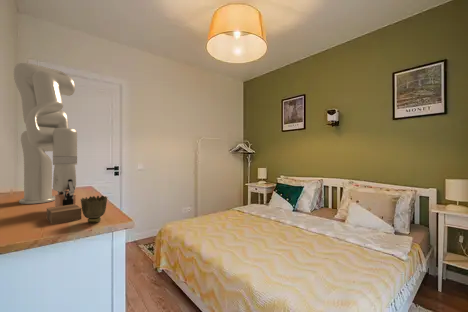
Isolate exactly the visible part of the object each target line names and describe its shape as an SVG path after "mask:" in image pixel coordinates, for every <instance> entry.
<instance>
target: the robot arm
mask: <svg viewBox="0 0 468 312" xmlns="http://www.w3.org/2000/svg"><path fill="white" fill-rule="evenodd" d="M13 80H14V84H15V85H16V88H17V91H18V92H19V94H20V97H21V107H22V116H23V117H22V118H23V122H24V124H25V128H26V129H25V131H23V132H22V133H21V135H20V144H21V148H22V153H23V155H22V156H23V198H21V199H19V201H18V202H19V204H21V205H31V204H32V205H33V204H36V205H37V204H44V203H49V202H53V201H55V195H53V190H54V191H56V192H57V195H61V194H64V200H63V206H65V205H73V198H74V197H73V195H75V191H76V189H77V174H76V166H77V165H78V131H77V130H76V129H75V128H71V127H70V125H69V119H68V115H67V113H66V112H65V111H64V110H63V108H64V102H63V98H62V96H69V97H70V96H73V95H74V93H75V91H76V86H75V85H76V84H75V82H74V80H73V78H72V77H71V76H70V75H68V74H66V73H65V72H63V71H62V70H57V69H53V68H50V67H46V66H42V65H38V64H34V63H28V62H19V63H17V64H16V65H14V67H13ZM47 152H52V159H51V158H50V156H49V155H48V154H47ZM53 167H54V168H53ZM66 194H67V195H66Z"/></svg>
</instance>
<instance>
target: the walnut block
mask: <svg viewBox="0 0 468 312" xmlns="http://www.w3.org/2000/svg"><path fill="white" fill-rule="evenodd" d="M46 220H47V221H48V222H49V223H50V224H51V225H57V224H64V223H68V222H73V221H78V220H82V207H80V206H78V205H77V204H76V203H75V204H73V205H65V206H58V207H55V206H51V207H47V208H46Z"/></svg>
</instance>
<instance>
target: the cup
mask: <svg viewBox="0 0 468 312" xmlns="http://www.w3.org/2000/svg"><path fill="white" fill-rule="evenodd" d="M107 201H108V196H104V195H101V196H99V195H96V196H95V195H93V196H91V195H90V196H89V197H87V196H86V197H82V198H80V204H81V213H82V215H83V216H84V217H85V218H87V222H88V223H89V224H98V223H99V222H101V220H102V217H103V216H104V214H105V213H106V210H107Z"/></svg>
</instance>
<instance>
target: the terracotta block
mask: <svg viewBox="0 0 468 312" xmlns="http://www.w3.org/2000/svg"><path fill="white" fill-rule="evenodd" d="M66 195H67V194H66ZM54 196H55V200H54V201H55V203H54V207H58V206H63V200H64V194H61V195H58V194H55V195H54ZM73 197H74V198H73V204H75V205H76V194H74V195H73Z"/></svg>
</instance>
